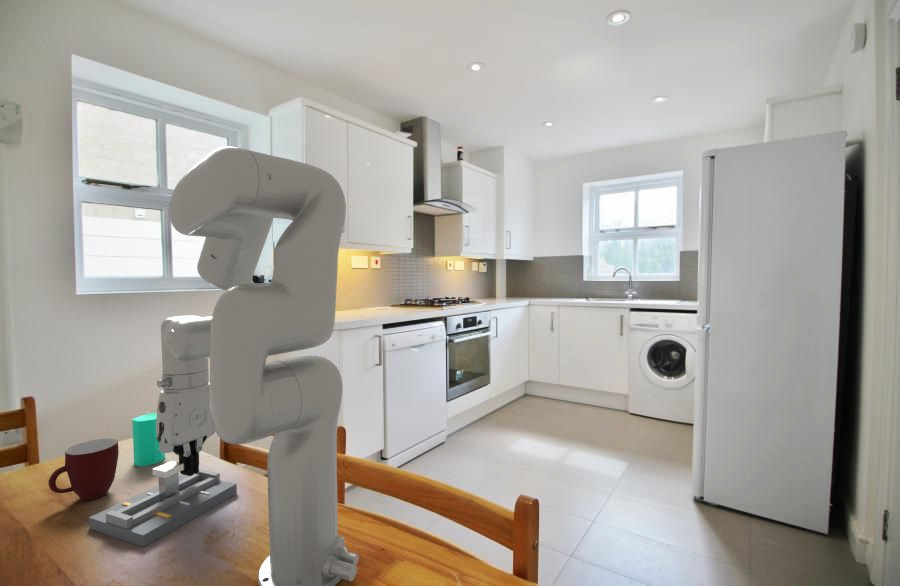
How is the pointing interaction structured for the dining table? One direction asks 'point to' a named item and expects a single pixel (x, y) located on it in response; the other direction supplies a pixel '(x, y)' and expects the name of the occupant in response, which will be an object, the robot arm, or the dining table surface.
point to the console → (162, 509)
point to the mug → (89, 468)
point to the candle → (146, 440)
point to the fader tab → (168, 479)
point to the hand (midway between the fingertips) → (189, 473)
